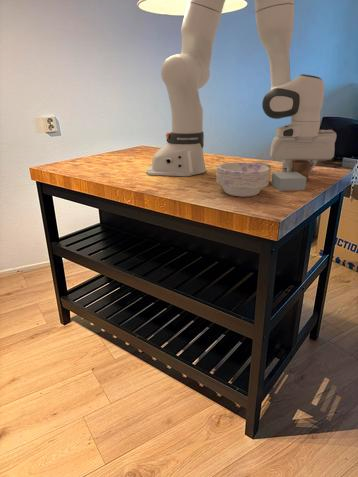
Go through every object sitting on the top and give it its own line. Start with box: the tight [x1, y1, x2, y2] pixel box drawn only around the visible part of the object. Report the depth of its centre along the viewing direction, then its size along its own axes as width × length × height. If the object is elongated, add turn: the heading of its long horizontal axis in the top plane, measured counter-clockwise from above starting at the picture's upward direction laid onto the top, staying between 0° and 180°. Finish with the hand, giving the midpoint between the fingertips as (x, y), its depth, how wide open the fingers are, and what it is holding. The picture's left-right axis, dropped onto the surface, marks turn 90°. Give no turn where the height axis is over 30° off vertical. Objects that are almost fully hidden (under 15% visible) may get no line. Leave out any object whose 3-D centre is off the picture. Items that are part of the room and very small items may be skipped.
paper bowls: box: [215, 162, 271, 198], centre depth 104 cm, size 15×15×8 cm
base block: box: [270, 171, 307, 192], centre depth 110 cm, size 8×8×4 cm
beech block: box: [254, 161, 272, 184], centre depth 116 cm, size 5×5×6 cm
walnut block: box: [291, 160, 312, 182], centre depth 119 cm, size 5×5×6 cm
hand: (299, 172), depth 119 cm, fingers closed on walnut block, 5 cm apart
